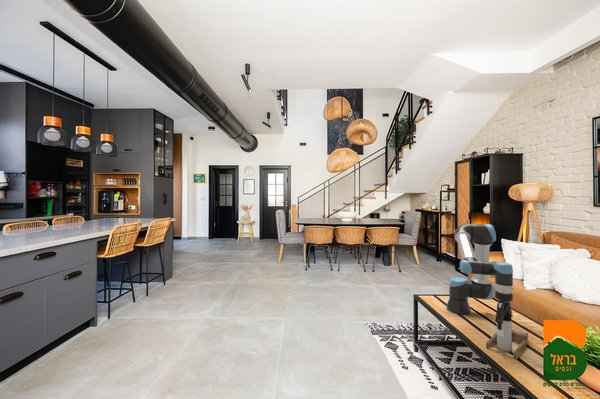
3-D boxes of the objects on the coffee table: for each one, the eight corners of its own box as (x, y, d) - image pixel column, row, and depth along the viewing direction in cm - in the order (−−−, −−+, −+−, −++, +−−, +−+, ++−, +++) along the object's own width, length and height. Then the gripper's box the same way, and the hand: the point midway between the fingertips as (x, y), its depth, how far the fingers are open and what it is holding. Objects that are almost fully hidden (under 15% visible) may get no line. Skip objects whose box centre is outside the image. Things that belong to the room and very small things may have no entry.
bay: (486, 348, 141) (486, 338, 141) (501, 332, 158) (501, 324, 158) (516, 359, 131) (516, 349, 131) (529, 341, 148) (529, 332, 148)
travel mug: (493, 347, 142) (493, 310, 142) (504, 346, 142) (504, 310, 143) (503, 353, 136) (503, 315, 136) (515, 353, 136) (514, 314, 136)
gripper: (505, 299, 129) (505, 342, 129) (518, 288, 144) (518, 327, 144) (487, 294, 135) (487, 335, 134) (502, 285, 150) (502, 322, 150)
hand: (503, 331), depth 139 cm, fingers open, 13 cm apart
